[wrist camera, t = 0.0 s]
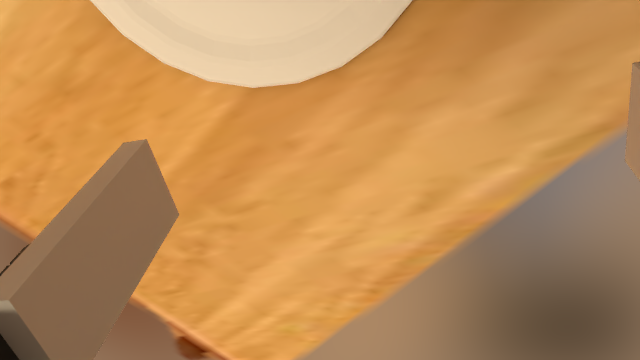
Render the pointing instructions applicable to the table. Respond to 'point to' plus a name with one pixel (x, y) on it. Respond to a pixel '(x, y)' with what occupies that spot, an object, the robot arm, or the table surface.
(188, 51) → the plate
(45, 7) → the table surface
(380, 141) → the table surface
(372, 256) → the table surface
